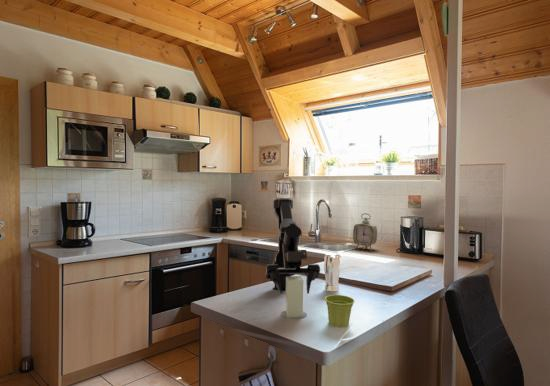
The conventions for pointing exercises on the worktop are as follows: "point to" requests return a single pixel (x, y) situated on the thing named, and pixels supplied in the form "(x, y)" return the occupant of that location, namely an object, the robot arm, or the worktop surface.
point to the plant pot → (339, 309)
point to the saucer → (292, 317)
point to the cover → (294, 296)
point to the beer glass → (332, 272)
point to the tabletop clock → (365, 233)
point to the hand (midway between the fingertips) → (294, 293)
